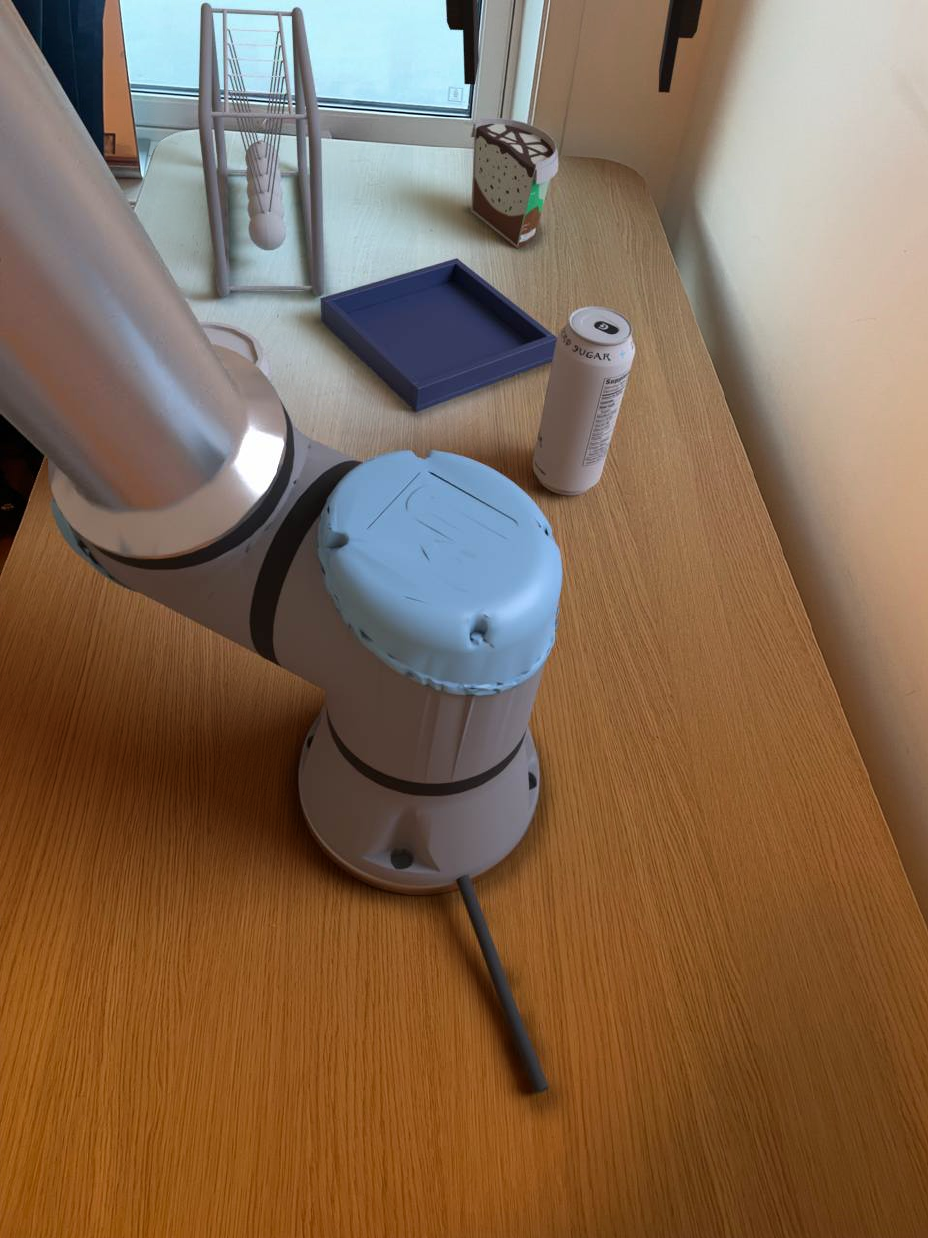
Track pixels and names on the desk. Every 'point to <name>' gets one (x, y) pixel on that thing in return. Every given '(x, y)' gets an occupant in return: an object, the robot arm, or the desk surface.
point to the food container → (511, 176)
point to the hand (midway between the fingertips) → (567, 76)
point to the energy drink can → (583, 399)
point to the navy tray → (437, 332)
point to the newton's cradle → (260, 149)
